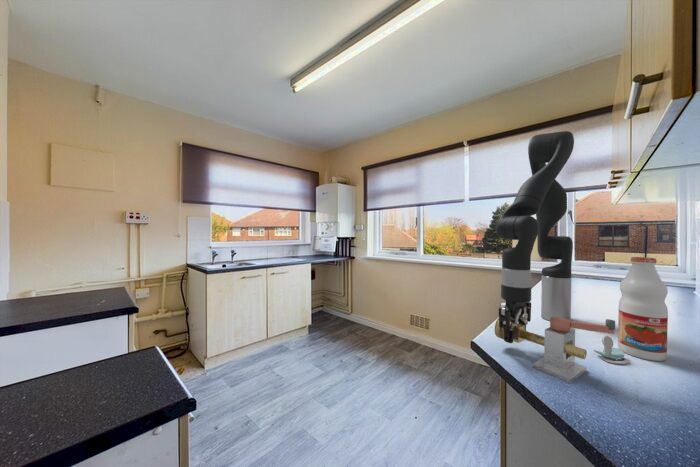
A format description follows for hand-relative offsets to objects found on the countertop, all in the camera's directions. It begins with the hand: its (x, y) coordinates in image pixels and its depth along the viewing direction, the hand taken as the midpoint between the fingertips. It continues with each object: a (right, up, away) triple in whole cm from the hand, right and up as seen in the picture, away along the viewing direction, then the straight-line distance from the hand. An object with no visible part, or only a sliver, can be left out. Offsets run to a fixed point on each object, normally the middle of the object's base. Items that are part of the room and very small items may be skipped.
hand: (515, 339), depth 76 cm
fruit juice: (+36, -4, -1) cm, 36 cm away
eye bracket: (+6, -4, -9) cm, 11 cm away
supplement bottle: (+7, -4, +15) cm, 17 cm away
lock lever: (+9, +7, -11) cm, 16 cm away
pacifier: (+24, -4, -4) cm, 25 cm away
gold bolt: (+3, -1, -5) cm, 6 cm away
